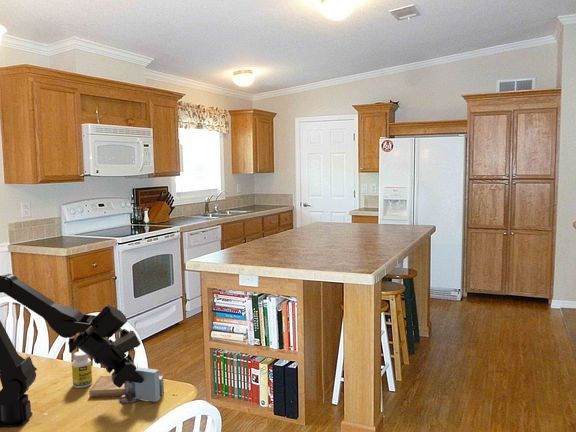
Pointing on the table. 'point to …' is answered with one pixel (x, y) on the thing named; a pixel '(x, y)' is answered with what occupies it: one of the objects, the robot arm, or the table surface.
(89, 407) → the table surface
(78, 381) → the supplement bottle
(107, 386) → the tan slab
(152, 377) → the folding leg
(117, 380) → the robot arm
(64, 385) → the table surface
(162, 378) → the bracket
